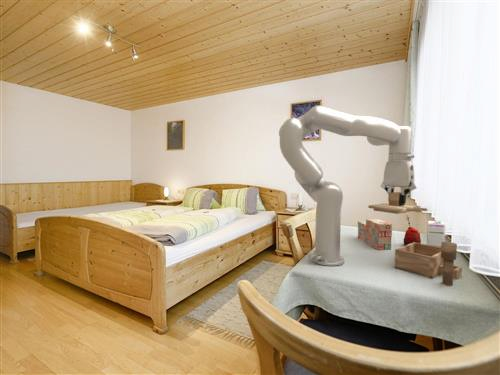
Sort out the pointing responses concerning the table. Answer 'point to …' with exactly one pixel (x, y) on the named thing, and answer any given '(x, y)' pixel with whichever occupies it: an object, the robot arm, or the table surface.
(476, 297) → the table surface
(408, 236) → the red clay folk toy
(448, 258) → the wooden bottle
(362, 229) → the stack of blocks
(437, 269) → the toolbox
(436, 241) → the syrup box
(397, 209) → the lid
